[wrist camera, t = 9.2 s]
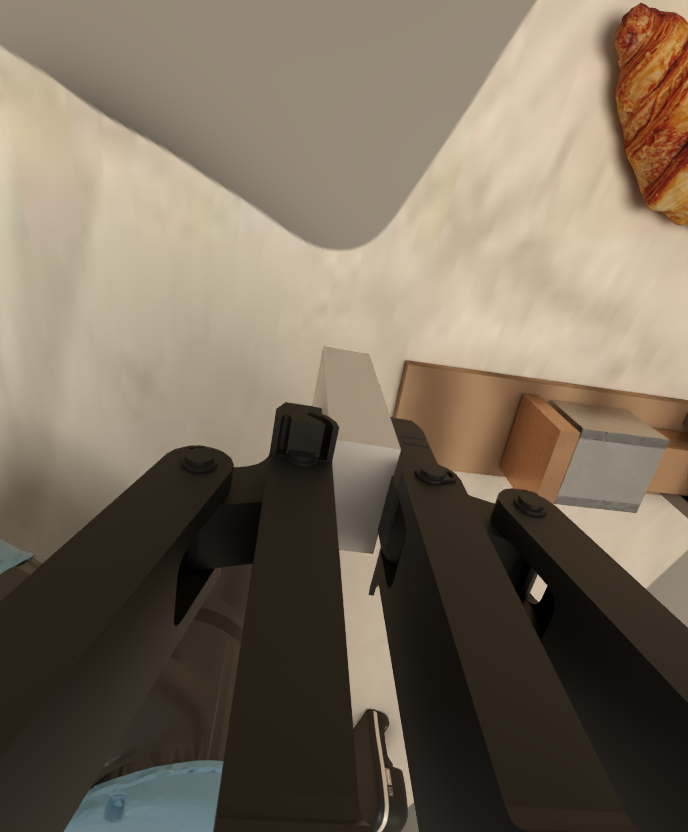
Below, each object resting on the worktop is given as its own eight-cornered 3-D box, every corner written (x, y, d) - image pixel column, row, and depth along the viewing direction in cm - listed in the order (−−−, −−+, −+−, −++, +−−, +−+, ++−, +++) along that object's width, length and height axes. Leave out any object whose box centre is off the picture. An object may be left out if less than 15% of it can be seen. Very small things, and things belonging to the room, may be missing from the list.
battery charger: (371, 751, 63) (384, 864, 52) (342, 744, 62) (349, 858, 51) (397, 713, 60) (416, 824, 50) (368, 706, 59) (381, 817, 49)
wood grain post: (499, 467, 46) (530, 513, 39) (523, 394, 43) (560, 430, 37) (699, 491, 48) (759, 538, 42) (734, 423, 45) (804, 462, 39)
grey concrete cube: (526, 467, 46) (554, 503, 41) (550, 398, 44) (583, 428, 38) (599, 476, 47) (636, 513, 42) (626, 409, 44) (669, 439, 39)
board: (384, 456, 46) (386, 463, 45) (405, 360, 43) (408, 365, 42) (706, 494, 50) (715, 501, 49) (750, 409, 47) (761, 414, 46)
